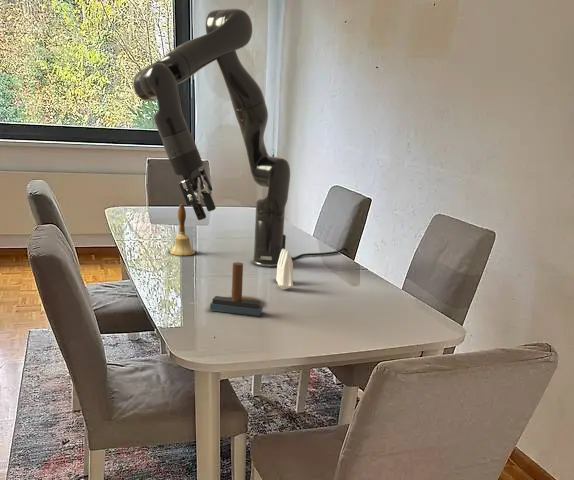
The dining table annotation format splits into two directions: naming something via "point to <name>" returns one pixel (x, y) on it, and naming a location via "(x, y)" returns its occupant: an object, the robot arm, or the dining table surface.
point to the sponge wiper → (236, 297)
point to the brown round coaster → (251, 299)
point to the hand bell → (182, 237)
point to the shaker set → (285, 270)
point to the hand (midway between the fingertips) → (207, 214)
